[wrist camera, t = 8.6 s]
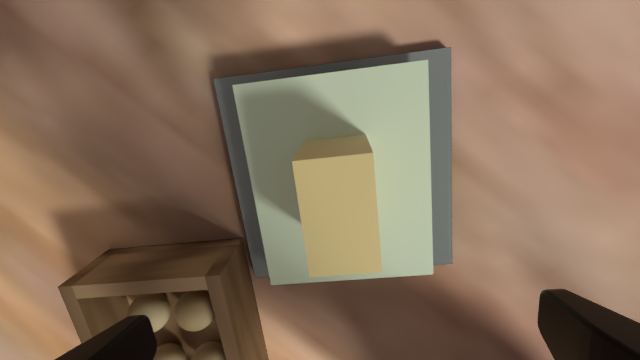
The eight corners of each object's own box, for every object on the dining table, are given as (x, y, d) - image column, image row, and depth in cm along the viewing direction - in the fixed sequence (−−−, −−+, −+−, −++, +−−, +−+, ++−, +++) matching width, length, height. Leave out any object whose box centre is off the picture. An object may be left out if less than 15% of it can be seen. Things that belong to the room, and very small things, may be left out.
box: (242, 238, 20) (219, 275, 17) (271, 374, 24) (258, 432, 20) (108, 249, 21) (57, 287, 17) (154, 379, 25) (119, 435, 21)
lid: (419, 61, 16) (458, 53, 11) (425, 257, 19) (458, 328, 14) (242, 84, 17) (196, 88, 12) (276, 268, 20) (252, 338, 15)
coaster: (447, 48, 16) (450, 47, 16) (449, 258, 20) (452, 263, 19) (217, 78, 18) (213, 78, 17) (257, 272, 21) (255, 277, 21)
